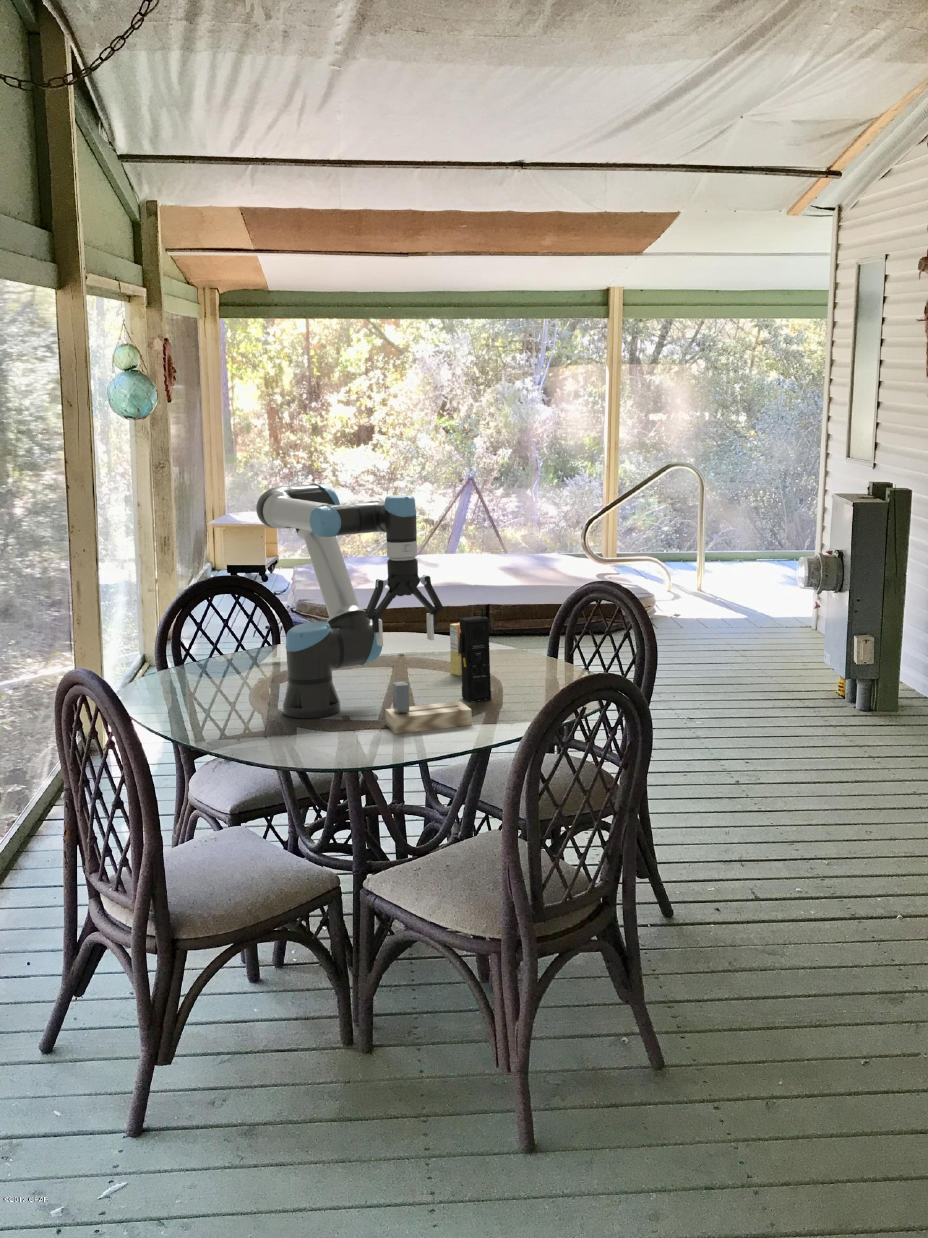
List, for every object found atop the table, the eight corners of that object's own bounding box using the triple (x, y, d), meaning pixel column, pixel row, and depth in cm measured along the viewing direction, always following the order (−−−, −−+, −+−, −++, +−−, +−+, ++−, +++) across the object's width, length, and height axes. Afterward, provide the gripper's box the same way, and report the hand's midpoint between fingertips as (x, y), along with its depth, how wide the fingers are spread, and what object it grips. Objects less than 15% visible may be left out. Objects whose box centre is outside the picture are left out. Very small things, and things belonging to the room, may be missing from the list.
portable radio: (466, 703, 311) (463, 612, 306) (457, 698, 316) (455, 609, 312) (492, 700, 314) (490, 609, 309) (483, 695, 319) (481, 606, 315)
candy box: (473, 669, 351) (471, 619, 348) (482, 671, 348) (480, 621, 345) (450, 674, 345) (449, 623, 343) (459, 676, 342) (458, 625, 339)
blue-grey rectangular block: (397, 713, 286) (396, 686, 285) (393, 709, 290) (392, 682, 289) (409, 712, 287) (408, 684, 286) (405, 708, 291) (404, 681, 290)
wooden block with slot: (395, 733, 284) (394, 717, 284) (386, 724, 293) (385, 708, 292) (471, 724, 291) (471, 708, 290) (460, 716, 299) (460, 700, 298)
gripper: (359, 563, 277) (363, 650, 280) (454, 555, 286) (457, 639, 290) (349, 560, 283) (353, 644, 287) (442, 552, 293) (445, 634, 297)
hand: (405, 642), depth 289 cm, fingers open, 13 cm apart
